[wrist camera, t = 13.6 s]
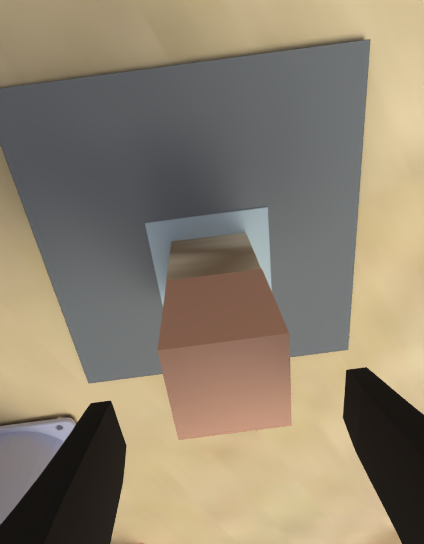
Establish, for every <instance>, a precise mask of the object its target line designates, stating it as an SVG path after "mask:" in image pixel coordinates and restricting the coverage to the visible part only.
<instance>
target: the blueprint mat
mask: <svg viewBox="0 0 424 544" xmlns="http://www.w3.org/2000/svg"><path fill="white" fill-rule="evenodd" d="M369 52H370V39H369V40H361V41H354V42H346V43H339V44H331V45H324V46H316V47H309V48H301V49H294V50H286V51H278V52H271V53H263V54H256V55H248V56H241V57H233V58H226V59H218V60H211V61H203V62H195V63H188V64H180V65H173V66H165V67H158V68H150V69H143V70H135V71H127V72H120V73H112V74H105V75H97V76H90V77H82V78H75V79H67V80H60V81H52V82H44V83H37V84H29V85H22V86H14V87H7V88H0V145H1V147H2V150H3V153H4V156H5V158H6V161H7V164H8V166H9V169H10V172H11V175H12V177H13V180H14V183H15V185H16V188H17V191H18V194H19V196H20V199H21V202H22V204H23V207H24V210H25V212H26V215H27V218H28V221H29V223H30V226H31V229H32V231H33V234H34V237H35V240H36V242H37V245H38V248H39V250H40V253H41V256H42V259H43V261H44V264H45V267H46V269H47V272H48V275H49V277H50V280H51V283H52V286H53V288H54V291H55V294H56V296H57V299H58V302H59V305H60V307H61V310H62V313H63V315H64V318H65V321H66V324H67V326H68V329H69V332H70V334H71V337H72V340H73V343H74V345H75V348H76V351H77V353H78V356H79V359H80V361H81V364H82V367H83V370H84V372H85V375H86V378H87V380H88V383H96V382H104V381H111V380H119V379H127V378H134V377H142V376H150V375H157V374H163V372H162V368H161V364H160V359H159V355H158V351H157V350H158V342H159V335H160V327H161V319H162V312H163V304H164V297H165V289H166V277H167V269H168V262H169V255H170V247H171V241H179V240H187V239H196V238H204V237H212V236H221V235H229V234H238V233H246V234H247V236H248V239H249V241H250V243H251V246H252V248H253V250H254V253H255V255H256V258H257V260H258V262H259V265H260V267H261V269H262V270H263V272H264V275H265V277H266V279H267V282H268V284H269V286H270V289H271V291H272V294H273V296H274V298H275V301H276V303H277V305H278V308H279V310H280V312H281V315H282V317H283V320H284V322H285V324H286V327H287V329H288V331H289V340H290V357H296V356H304V355H312V354H319V353H327V352H335V351H342V350H348V344H349V330H350V316H351V302H352V288H353V274H354V260H355V246H356V233H357V219H358V205H359V191H360V177H361V163H362V149H363V135H364V121H365V107H366V93H367V79H368V66H369Z"/></svg>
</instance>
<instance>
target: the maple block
mask: <svg viewBox="0 0 424 544" xmlns="http://www.w3.org/2000/svg"><path fill="white" fill-rule="evenodd" d="M254 269H261V267H260V265H259V262H258V260H257V258H256V255H255V253H254V250H253V248H252V246H251V243H250V241H249V239H248V236H247V234H246V233H238V234H229V235H221V236H212V237H204V238H196V239H187V240H179V241H171V247H170V255H169V262H168V269H167V277H166V282H167V281H170V280H178V279H185V278H193V277H201V276H208V275H216V274H224V273H231V272H239V271H247V270H254Z"/></svg>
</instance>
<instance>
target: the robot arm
mask: <svg viewBox="0 0 424 544" xmlns="http://www.w3.org/2000/svg"><path fill="white" fill-rule="evenodd" d="M343 419H344V422H345V424H346V427H347V430H348V433H349V435H350V438H351V440H352V443H353V446H354V448H355V451H356V453H357V455H358V457H359V459H360V461H361V463H362V465H363V467H364V469H365V471H366V473H367V475H368V477H369V479H370V481H371V483H372V485H373V487H374V489H375V491H376V492H377V494H378V496H379V498H380V500H381V502H382V504H383V506H384V508H385V510H386V512H387V514H388V516H389V518H390V520H391V522H392V524H393V526H394V528H395V530H396V532H397V534H398V536H399V538H400V540H401V542H402V544H424V415H423V414H422V413H421V412H420V411H418V410H417V409H416V408H415V407H413V406H412V405H411V404H410V403H408V402H407V401H406V400H405V399H404V398H402V397H401V396H400V395H399V394H398V393H396V392H395V391H394V390H393V389H392V388H390V387H389V386H388V385H387V384H386V383H385V382H383V381H382V380H381V379H380V378H379V377H377V376H376V375H375V374H374V373H373V372H372V371H370V370H369V369H368V368H367V367H365V368H358V369H350V370H346V383H345V397H344V411H343ZM125 455H126V443H125V440H124V437H123V435H122V432H121V429H120V426H119V423H118V420H117V417H116V414H115V411H114V408H113V405H112V402H111V401H105V402H97V403H91V404H90V405H89V406H88V408H87V409H86V411H85V412H84V414H83V415H82V417H81V418H80V420H79V421H78V422H77V424H76V423H75V421H74V420H73V419H72V418H59V419H51V420H43V421H35V422H28V423H20V424H12V425H5V426H0V544H110V542H111V537H112V532H113V527H114V523H115V518H116V513H117V508H118V504H119V499H120V494H121V489H122V484H123V476H124V467H125Z"/></svg>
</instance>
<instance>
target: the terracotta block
mask: <svg viewBox="0 0 424 544" xmlns="http://www.w3.org/2000/svg"><path fill="white" fill-rule="evenodd" d="M157 351H158V355H159V359H160V364H161V368H162V372H163V376H164V380H165V385H166V389H167V393H168V397H169V402H170V406H171V410H172V414H173V418H174V423H175V427H176V431H177V435H178V439H179V440H183V439H190V438H198V437H206V436H214V435H221V434H229V433H237V432H245V431H252V430H260V429H268V428H275V427H283V426H291V384H290V340H289V331H288V329H287V327H286V324H285V322H284V320H283V317H282V315H281V312H280V310H279V308H278V305H277V303H276V301H275V298H274V296H273V294H272V291H271V289H270V286H269V284H268V282H267V279H266V277H265V275H264V272H263V270H262V269H254V270H247V271H239V272H231V273H224V274H216V275H208V276H201V277H193V278H185V279H178V280H170V281H167V282H166V289H165V297H164V304H163V312H162V319H161V327H160V335H159V342H158V350H157Z"/></svg>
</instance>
